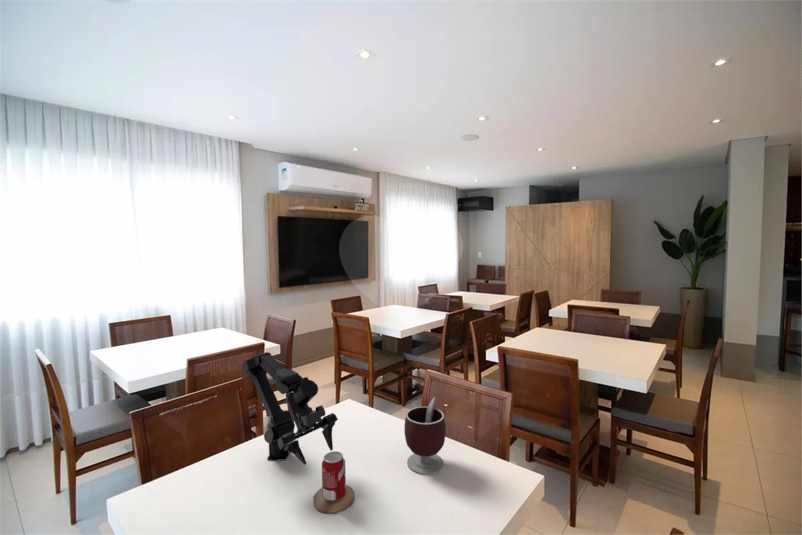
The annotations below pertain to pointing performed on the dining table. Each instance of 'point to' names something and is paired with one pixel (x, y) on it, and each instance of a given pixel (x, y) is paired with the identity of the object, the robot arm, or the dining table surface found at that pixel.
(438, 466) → the mate gourd
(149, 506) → the dining table surface
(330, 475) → the soda can
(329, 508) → the coaster
